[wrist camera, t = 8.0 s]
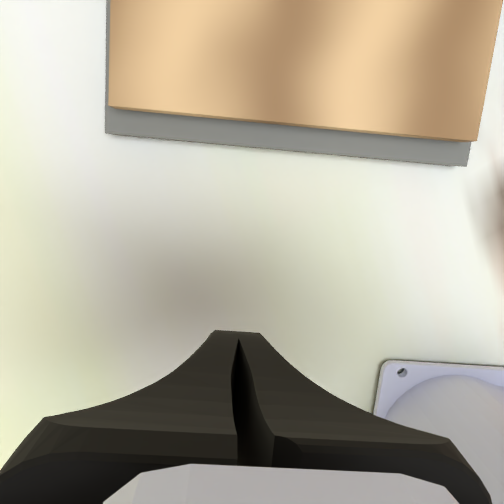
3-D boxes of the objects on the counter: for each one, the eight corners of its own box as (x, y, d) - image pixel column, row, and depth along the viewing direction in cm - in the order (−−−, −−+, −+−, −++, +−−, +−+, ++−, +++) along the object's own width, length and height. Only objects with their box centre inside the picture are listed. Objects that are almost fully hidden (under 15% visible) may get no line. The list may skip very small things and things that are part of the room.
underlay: (511, -132, 17) (528, -149, 16) (455, 165, 20) (466, 166, 19) (116, -186, 16) (108, -208, 15) (111, 134, 19) (105, 133, 18)
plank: (500, -63, 17) (517, -78, 16) (463, 142, 18) (477, 140, 17) (120, -112, 16) (112, -131, 15) (115, 108, 17) (108, 105, 16)
